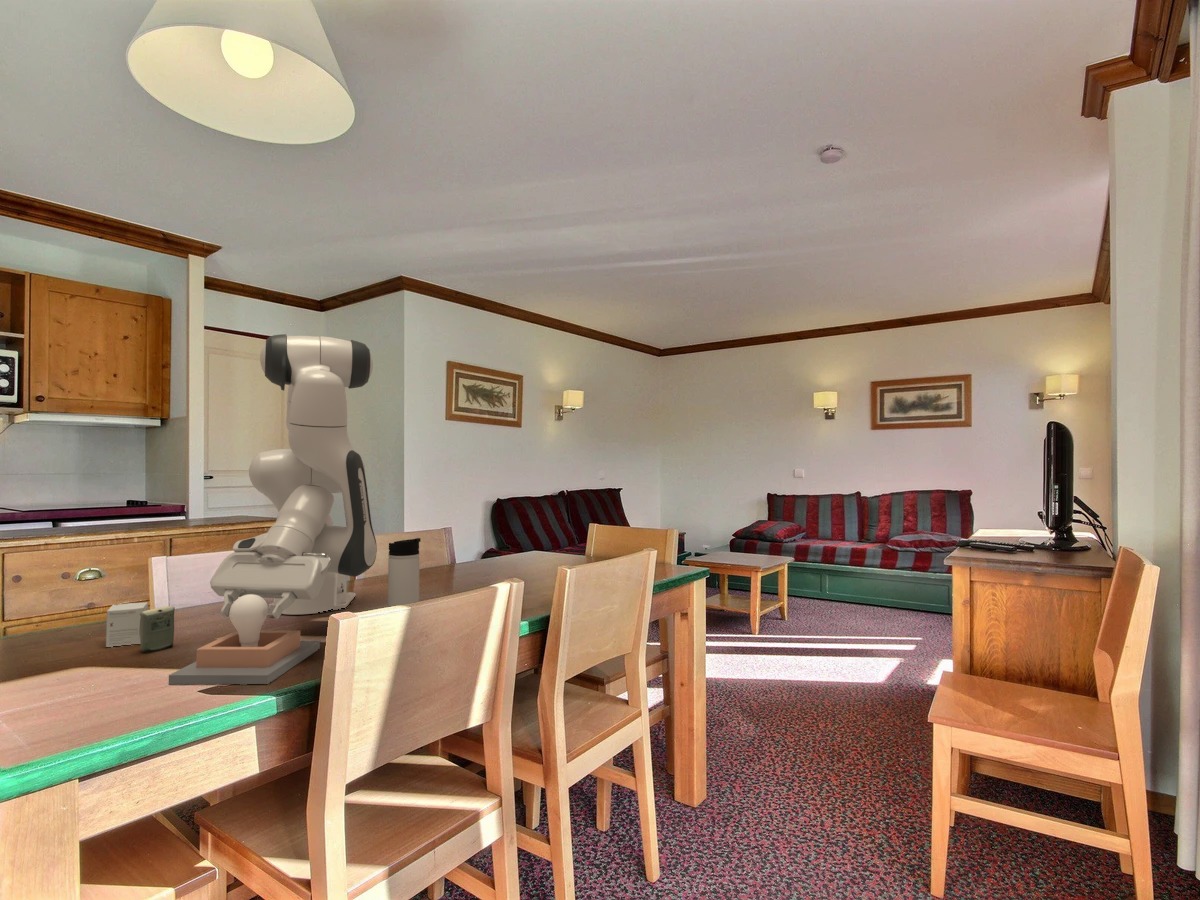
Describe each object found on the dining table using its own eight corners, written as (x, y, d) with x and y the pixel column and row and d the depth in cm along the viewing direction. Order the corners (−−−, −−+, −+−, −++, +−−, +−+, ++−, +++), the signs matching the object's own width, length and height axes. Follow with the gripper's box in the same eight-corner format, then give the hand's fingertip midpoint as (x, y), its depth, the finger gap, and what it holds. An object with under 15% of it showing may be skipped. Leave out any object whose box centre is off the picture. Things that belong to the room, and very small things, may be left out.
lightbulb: (246, 663, 111) (245, 599, 111) (222, 659, 113) (220, 597, 113) (276, 653, 116) (275, 592, 116) (253, 649, 119) (252, 589, 119)
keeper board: (236, 648, 125) (237, 625, 125) (319, 648, 125) (320, 625, 125) (168, 684, 105) (169, 656, 105) (267, 684, 105) (267, 656, 105)
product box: (105, 648, 125) (105, 610, 125) (111, 640, 130) (111, 604, 130) (143, 644, 128) (144, 607, 128) (148, 637, 133) (148, 601, 133)
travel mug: (411, 638, 132) (412, 540, 133) (382, 636, 134) (382, 539, 134) (425, 630, 139) (426, 536, 139) (397, 628, 140) (398, 536, 140)
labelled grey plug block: (159, 654, 121) (159, 611, 121) (131, 654, 121) (131, 611, 121) (178, 645, 127) (179, 604, 127) (151, 645, 127) (152, 604, 127)
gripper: (340, 563, 125) (310, 627, 115) (243, 561, 128) (206, 623, 118) (327, 543, 121) (296, 608, 111) (227, 541, 124) (188, 604, 114)
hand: (249, 615), depth 115 cm, fingers open, 8 cm apart
